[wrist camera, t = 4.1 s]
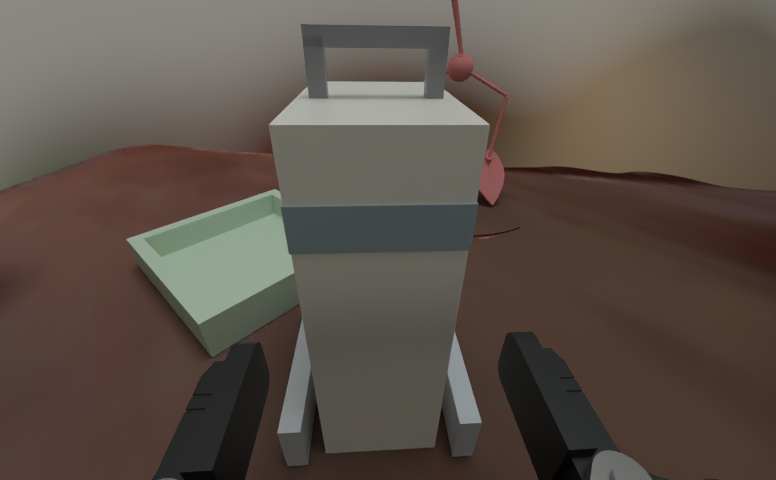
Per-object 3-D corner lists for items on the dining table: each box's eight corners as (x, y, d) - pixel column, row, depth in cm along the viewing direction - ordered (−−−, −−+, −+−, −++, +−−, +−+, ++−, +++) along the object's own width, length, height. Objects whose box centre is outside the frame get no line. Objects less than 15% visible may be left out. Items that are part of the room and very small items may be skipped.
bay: (313, 315, 25) (308, 278, 23) (436, 311, 25) (440, 274, 23) (286, 466, 16) (273, 427, 14) (473, 455, 17) (484, 416, 15)
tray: (279, 213, 38) (274, 189, 36) (366, 262, 30) (365, 234, 29) (140, 268, 29) (126, 239, 28) (212, 357, 21) (198, 324, 20)
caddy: (336, 330, 23) (305, 25, 14) (415, 327, 24) (439, 27, 14) (324, 454, 17) (247, 21, 7) (435, 448, 17) (510, 26, 7)
